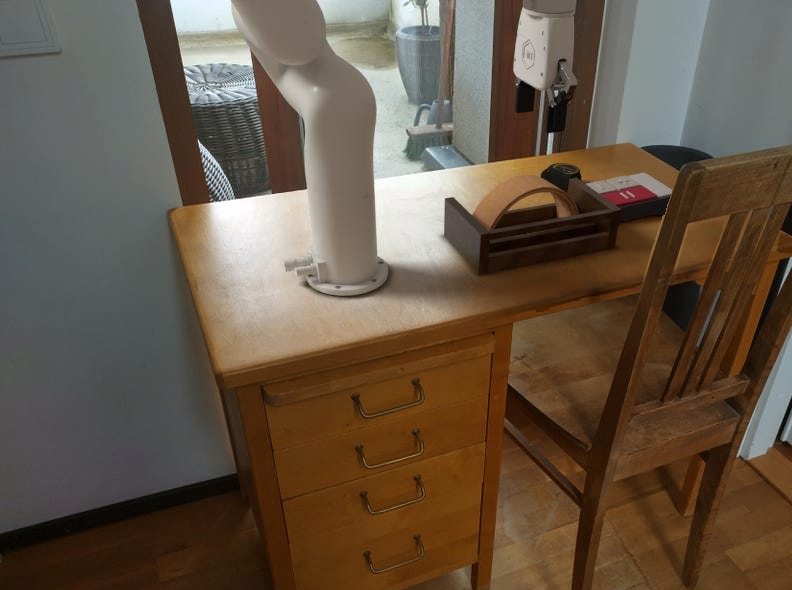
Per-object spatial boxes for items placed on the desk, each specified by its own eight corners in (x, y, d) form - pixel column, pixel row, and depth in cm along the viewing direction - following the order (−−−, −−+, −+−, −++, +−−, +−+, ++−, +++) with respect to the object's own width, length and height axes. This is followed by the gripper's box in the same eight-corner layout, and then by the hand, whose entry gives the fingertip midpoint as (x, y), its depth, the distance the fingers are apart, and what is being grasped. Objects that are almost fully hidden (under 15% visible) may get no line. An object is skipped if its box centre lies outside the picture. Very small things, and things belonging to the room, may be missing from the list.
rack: (478, 275, 112) (481, 234, 108) (443, 236, 122) (444, 198, 118) (615, 247, 121) (622, 209, 117) (571, 213, 131) (576, 177, 127)
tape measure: (537, 186, 141) (539, 167, 139) (558, 176, 145) (560, 158, 143) (565, 196, 137) (567, 178, 135) (586, 186, 141) (588, 168, 139)
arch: (579, 232, 125) (587, 177, 119) (482, 256, 117) (485, 199, 111) (560, 218, 129) (567, 165, 123) (464, 241, 121) (466, 185, 115)
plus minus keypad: (578, 182, 134) (645, 168, 138) (576, 203, 136) (642, 189, 141) (610, 206, 126) (680, 190, 130) (607, 228, 128) (676, 212, 133)
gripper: (498, -9, 106) (492, 107, 116) (557, 15, 94) (545, 143, 104) (542, -12, 109) (533, 102, 119) (605, 12, 96) (588, 137, 107)
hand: (538, 121), depth 111 cm, fingers open, 9 cm apart
